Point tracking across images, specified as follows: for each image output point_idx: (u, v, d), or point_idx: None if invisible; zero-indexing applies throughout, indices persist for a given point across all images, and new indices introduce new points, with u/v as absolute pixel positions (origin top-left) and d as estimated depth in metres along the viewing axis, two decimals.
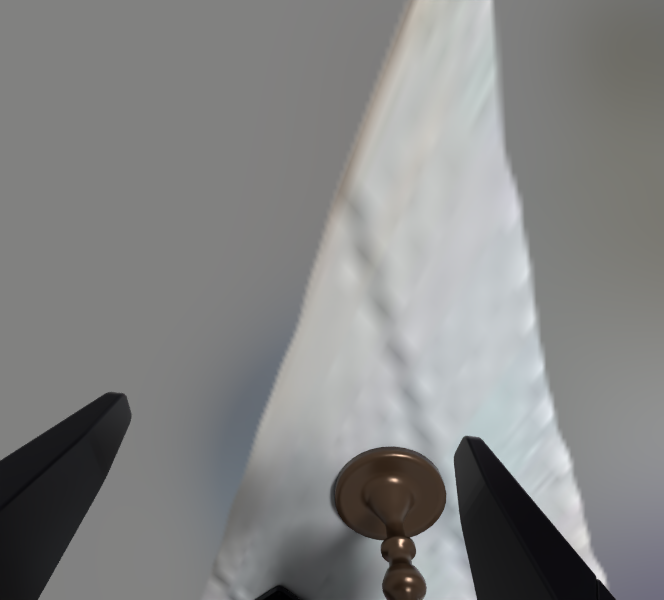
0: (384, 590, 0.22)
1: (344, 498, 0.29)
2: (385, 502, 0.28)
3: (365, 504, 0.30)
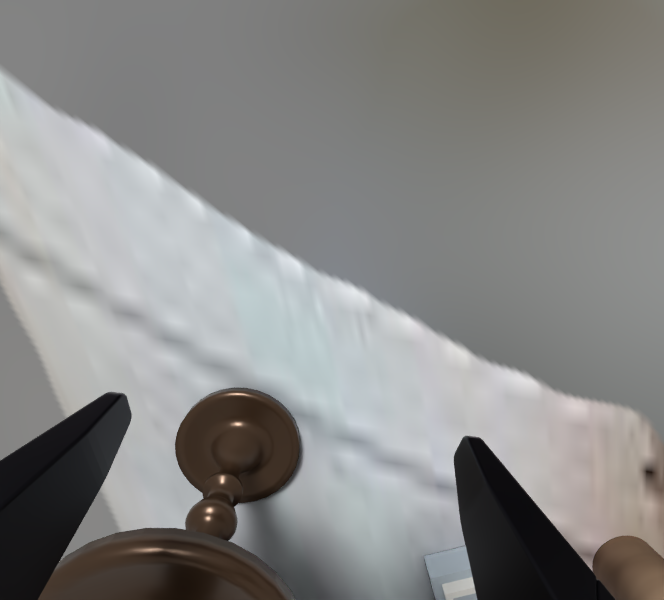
0: None
1: (201, 478, 0.27)
2: (218, 455, 0.25)
3: None
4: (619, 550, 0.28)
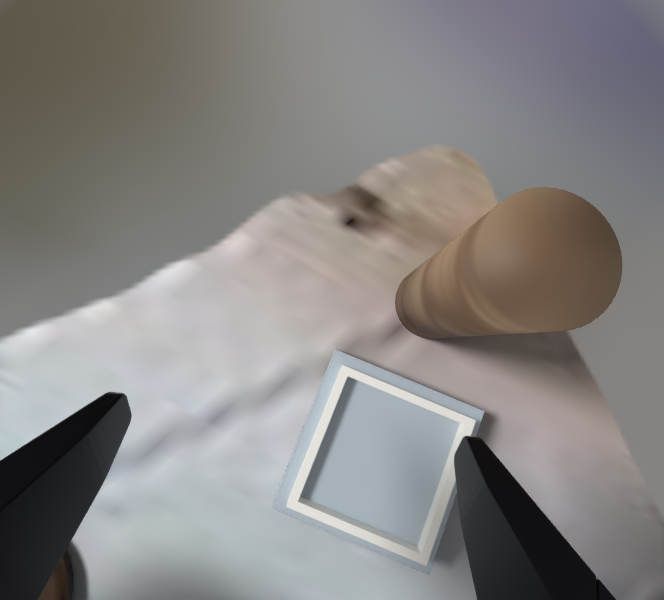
0: None
1: None
2: None
3: None
4: (398, 297, 0.24)
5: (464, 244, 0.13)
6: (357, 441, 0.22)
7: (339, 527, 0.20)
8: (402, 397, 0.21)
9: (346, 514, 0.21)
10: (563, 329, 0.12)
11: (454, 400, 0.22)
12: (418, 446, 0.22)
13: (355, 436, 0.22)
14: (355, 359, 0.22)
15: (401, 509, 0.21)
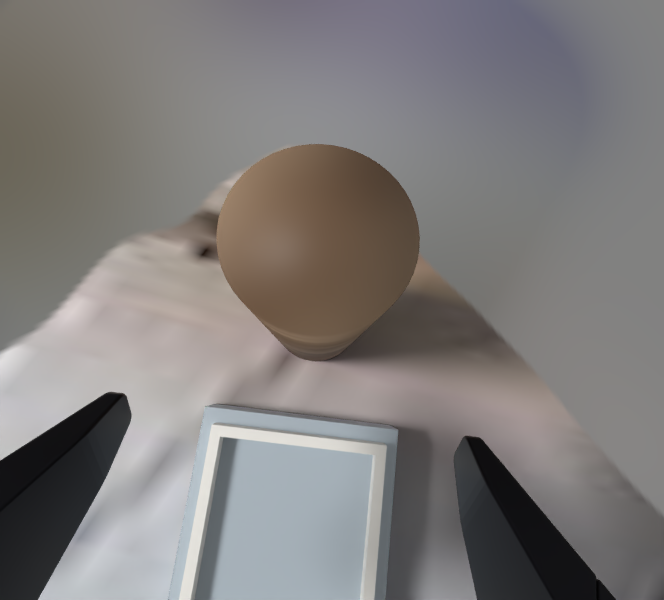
0: None
1: None
2: None
3: None
4: None
5: None
6: (253, 514, 0.17)
7: None
8: (293, 443, 0.17)
9: None
10: (356, 325, 0.08)
11: (360, 427, 0.18)
12: (330, 497, 0.18)
13: (250, 507, 0.17)
14: (231, 411, 0.18)
15: (327, 584, 0.17)
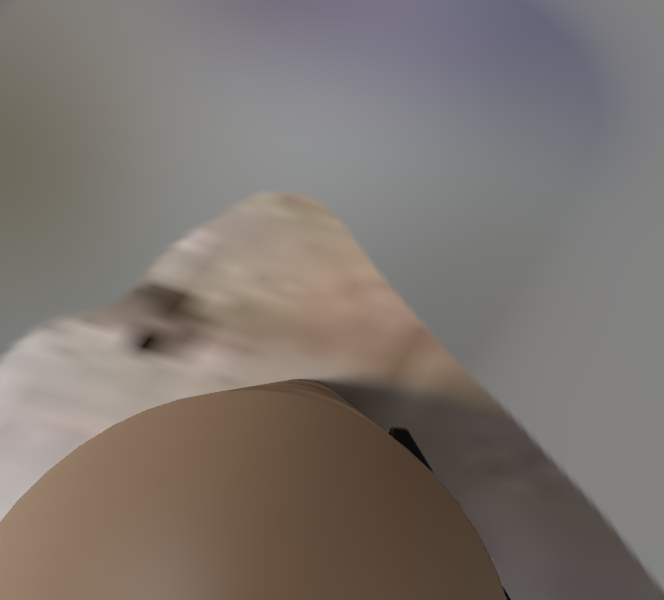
0: None
1: None
2: None
3: None
4: None
5: None
6: None
7: None
8: None
9: None
10: None
11: None
12: None
13: None
14: None
15: None
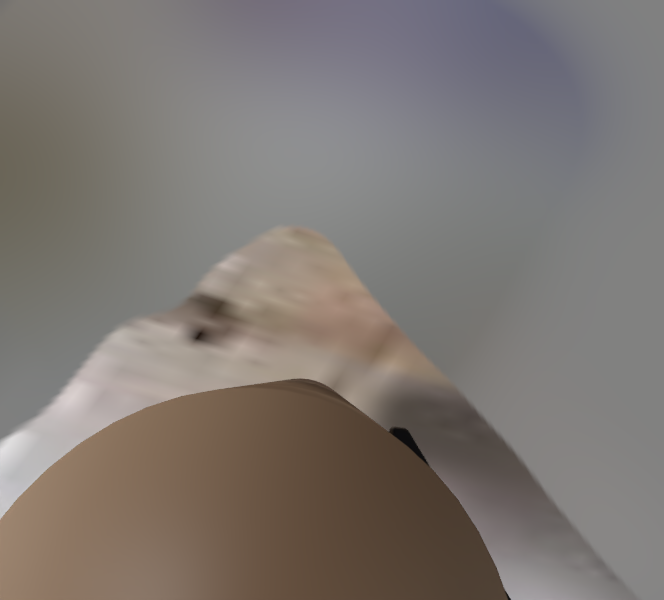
0: None
1: None
2: None
3: None
4: None
5: None
6: None
7: None
8: None
9: None
10: None
11: None
12: None
13: None
14: None
15: None
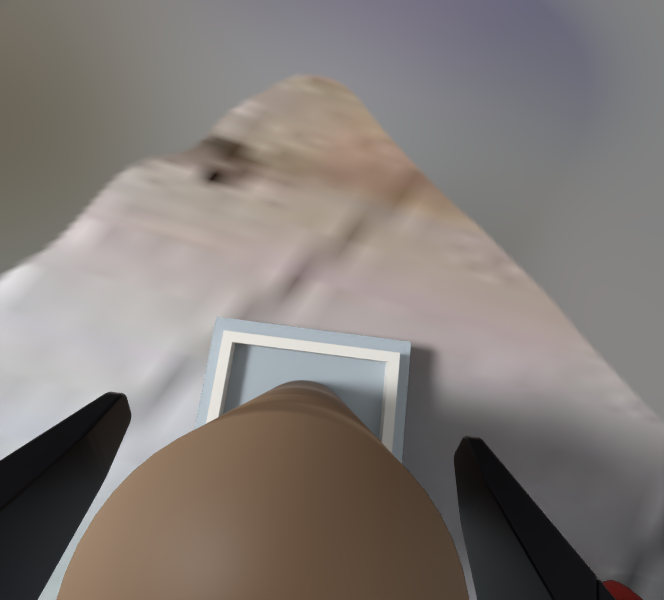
0: None
1: None
2: None
3: None
4: None
5: None
6: None
7: None
8: (305, 349, 0.17)
9: None
10: None
11: (372, 338, 0.18)
12: None
13: None
14: (242, 322, 0.18)
15: None
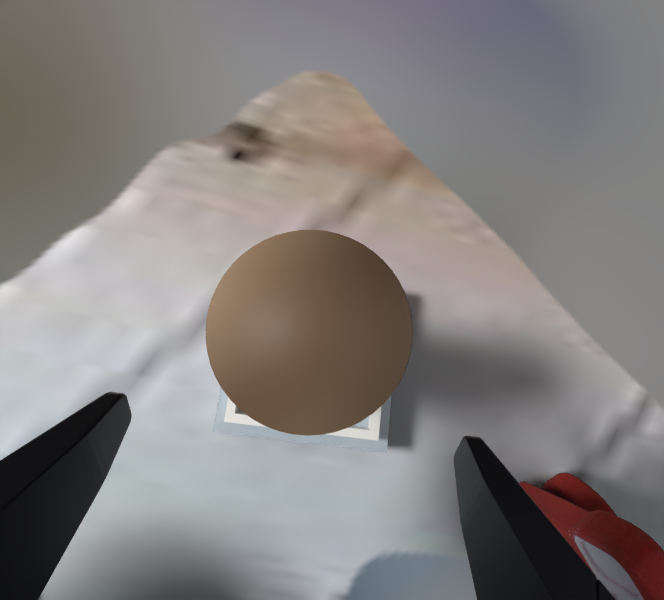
0: None
1: None
2: None
3: None
4: None
5: None
6: None
7: None
8: None
9: None
10: (347, 425, 0.08)
11: None
12: None
13: None
14: None
15: None
